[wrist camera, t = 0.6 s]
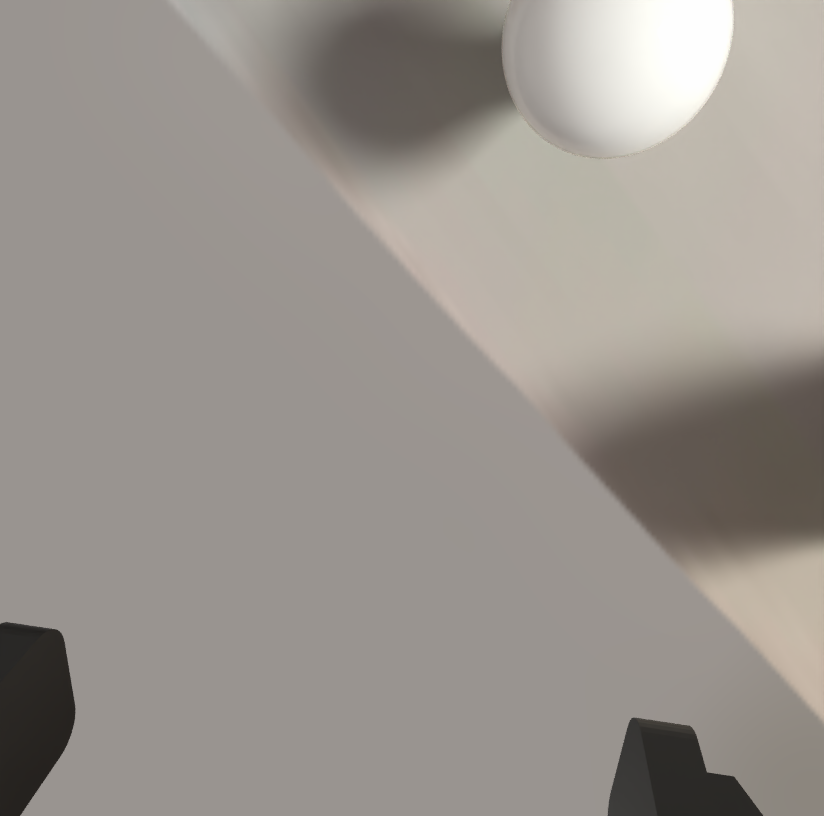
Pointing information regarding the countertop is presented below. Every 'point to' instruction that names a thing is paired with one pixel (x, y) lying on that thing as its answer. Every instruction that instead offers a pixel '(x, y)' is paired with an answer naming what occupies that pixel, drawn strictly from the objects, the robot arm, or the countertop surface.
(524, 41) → the lightbulb
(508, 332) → the countertop surface
